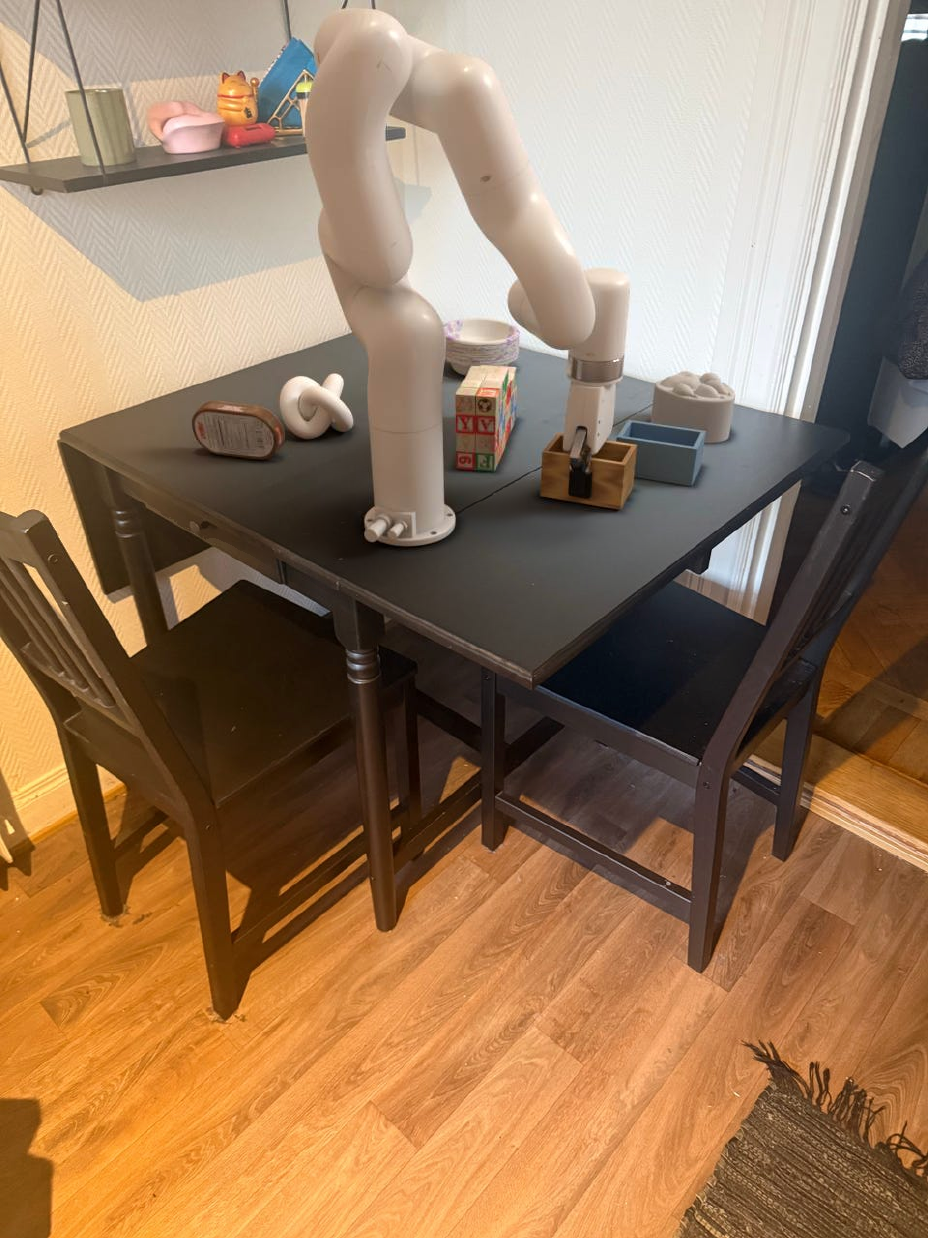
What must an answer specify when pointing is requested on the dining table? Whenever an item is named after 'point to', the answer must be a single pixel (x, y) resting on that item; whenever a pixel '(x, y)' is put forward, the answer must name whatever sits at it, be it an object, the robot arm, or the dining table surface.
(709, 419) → the lumpy-topped squat cylinder
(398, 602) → the dining table surface
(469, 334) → the paper bowls
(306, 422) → the white knot sculpture
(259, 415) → the tin
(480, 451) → the stack of blocks
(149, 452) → the dining table surface
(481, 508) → the dining table surface
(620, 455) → the wooden basket
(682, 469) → the blue basket
